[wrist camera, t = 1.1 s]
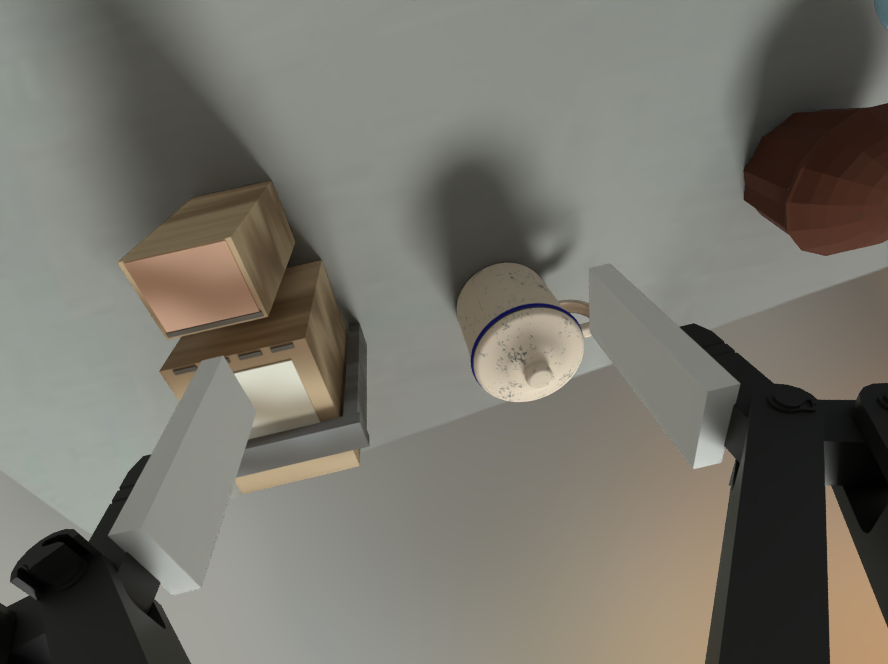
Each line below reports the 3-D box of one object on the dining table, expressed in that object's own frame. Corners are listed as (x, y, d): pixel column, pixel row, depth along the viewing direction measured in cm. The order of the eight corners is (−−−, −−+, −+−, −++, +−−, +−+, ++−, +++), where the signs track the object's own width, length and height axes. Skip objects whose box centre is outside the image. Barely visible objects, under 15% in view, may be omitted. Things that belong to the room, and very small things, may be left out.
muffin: (702, 213, 40) (790, 257, 32) (777, 75, 35) (907, 84, 26) (803, 237, 43) (908, 283, 35) (886, 114, 38) (1034, 132, 29)
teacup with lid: (460, 351, 44) (486, 436, 35) (446, 269, 39) (472, 342, 30) (576, 327, 45) (634, 404, 35) (577, 242, 40) (645, 305, 30)
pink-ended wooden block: (192, 197, 33) (116, 263, 23) (271, 180, 33) (230, 237, 23) (222, 258, 36) (166, 340, 26) (295, 242, 36) (267, 317, 26)
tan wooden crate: (197, 288, 37) (127, 387, 26) (339, 256, 37) (327, 341, 26) (256, 394, 44) (219, 509, 33) (376, 366, 44) (379, 471, 33)
